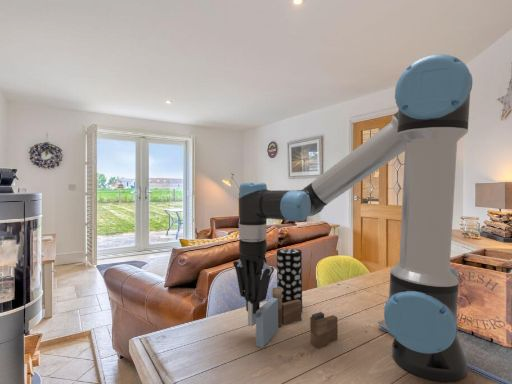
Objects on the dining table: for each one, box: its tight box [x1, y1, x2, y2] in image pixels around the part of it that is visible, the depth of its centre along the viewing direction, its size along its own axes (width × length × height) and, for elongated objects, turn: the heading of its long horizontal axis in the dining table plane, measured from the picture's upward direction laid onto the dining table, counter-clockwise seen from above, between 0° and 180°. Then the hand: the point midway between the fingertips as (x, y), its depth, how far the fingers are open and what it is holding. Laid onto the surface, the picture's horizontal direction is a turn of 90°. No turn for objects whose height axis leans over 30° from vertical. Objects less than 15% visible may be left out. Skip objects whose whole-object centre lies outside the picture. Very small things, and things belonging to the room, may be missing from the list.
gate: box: [255, 297, 279, 348], centre depth 82 cm, size 12×2×9 cm, turn 155°
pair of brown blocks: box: [272, 287, 339, 349], centre depth 85 cm, size 17×10×11 cm, turn 31°
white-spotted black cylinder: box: [276, 248, 303, 313], centre depth 101 cm, size 8×8×20 cm
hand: (252, 323), depth 83 cm, fingers closed
